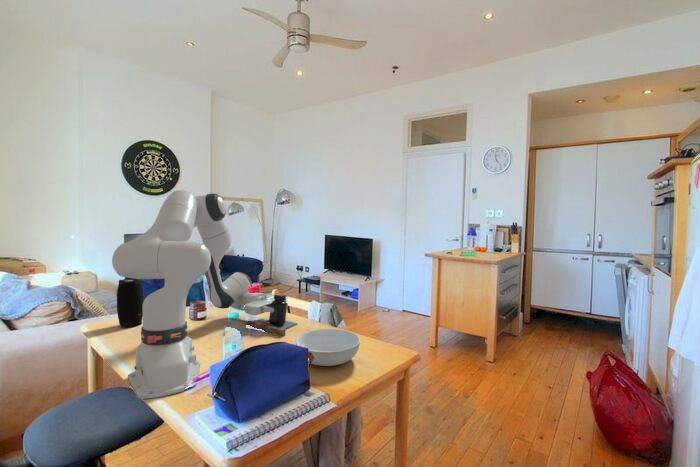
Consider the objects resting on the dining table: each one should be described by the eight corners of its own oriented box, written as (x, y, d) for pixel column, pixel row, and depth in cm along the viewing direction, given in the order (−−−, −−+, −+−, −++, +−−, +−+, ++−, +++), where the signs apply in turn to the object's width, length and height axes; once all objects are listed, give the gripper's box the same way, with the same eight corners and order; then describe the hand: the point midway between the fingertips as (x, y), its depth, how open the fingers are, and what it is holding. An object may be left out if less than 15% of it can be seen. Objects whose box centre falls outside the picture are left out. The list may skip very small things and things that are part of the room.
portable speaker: (147, 324, 144) (146, 278, 143) (122, 330, 137) (121, 281, 136) (138, 320, 149) (137, 276, 148) (113, 325, 142) (112, 279, 141)
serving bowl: (320, 343, 126) (320, 324, 125) (370, 355, 115) (371, 335, 115) (281, 364, 108) (281, 342, 108) (337, 381, 97) (337, 357, 97)
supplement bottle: (287, 325, 143) (291, 296, 144) (272, 326, 139) (276, 296, 139) (280, 321, 149) (284, 293, 149) (266, 321, 145) (269, 293, 145)
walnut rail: (285, 335, 133) (285, 329, 133) (282, 336, 132) (282, 330, 132) (248, 326, 143) (248, 320, 143) (245, 327, 142) (245, 321, 141)
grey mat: (297, 324, 147) (297, 323, 147) (280, 331, 137) (280, 330, 137) (278, 320, 152) (278, 319, 152) (260, 327, 143) (260, 325, 143)
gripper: (238, 301, 141) (263, 305, 135) (272, 291, 159) (295, 295, 152) (238, 316, 142) (262, 321, 135) (272, 305, 159) (295, 309, 153)
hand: (280, 307), depth 144 cm, fingers open, 7 cm apart
